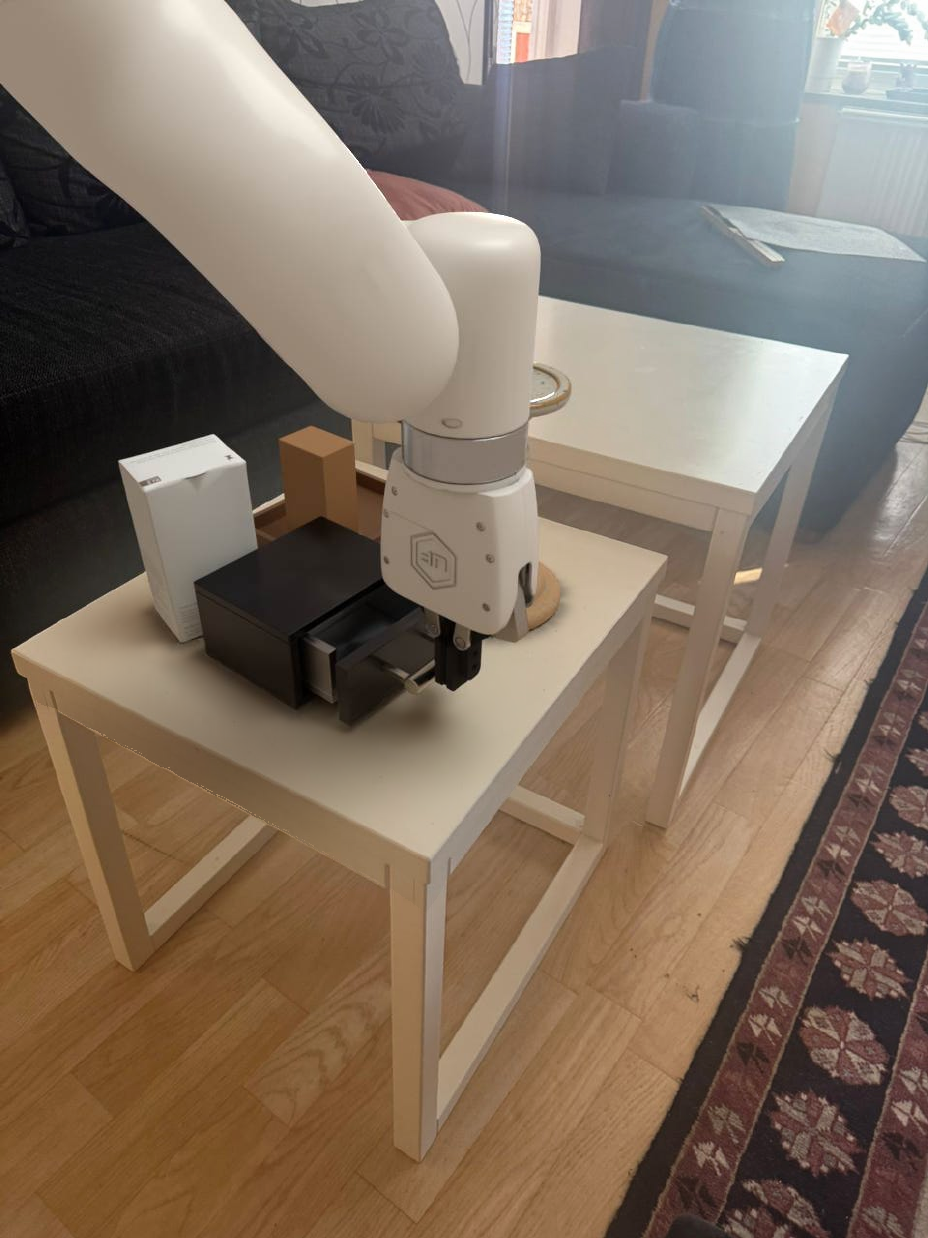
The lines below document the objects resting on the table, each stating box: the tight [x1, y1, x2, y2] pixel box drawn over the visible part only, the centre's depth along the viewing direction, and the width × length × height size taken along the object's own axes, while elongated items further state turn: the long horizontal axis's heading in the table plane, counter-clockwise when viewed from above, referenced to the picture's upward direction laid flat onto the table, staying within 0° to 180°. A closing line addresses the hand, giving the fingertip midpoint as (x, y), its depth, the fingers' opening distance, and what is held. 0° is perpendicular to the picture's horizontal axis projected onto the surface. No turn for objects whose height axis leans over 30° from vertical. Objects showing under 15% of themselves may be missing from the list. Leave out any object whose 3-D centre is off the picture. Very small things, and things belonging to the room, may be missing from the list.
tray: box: [253, 467, 387, 548], centre depth 86 cm, size 16×12×2 cm
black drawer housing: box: [194, 516, 385, 711], centre depth 70 cm, size 11×14×7 cm
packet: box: [278, 425, 359, 533], centre depth 80 cm, size 4×6×11 cm
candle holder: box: [526, 361, 573, 631], centre depth 73 cm, size 12×12×20 cm
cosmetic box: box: [117, 433, 258, 644], centre depth 71 cm, size 8×6×15 cm
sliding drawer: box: [297, 583, 435, 727], centre depth 67 cm, size 13×12×5 cm
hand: (457, 677), depth 63 cm, fingers closed
